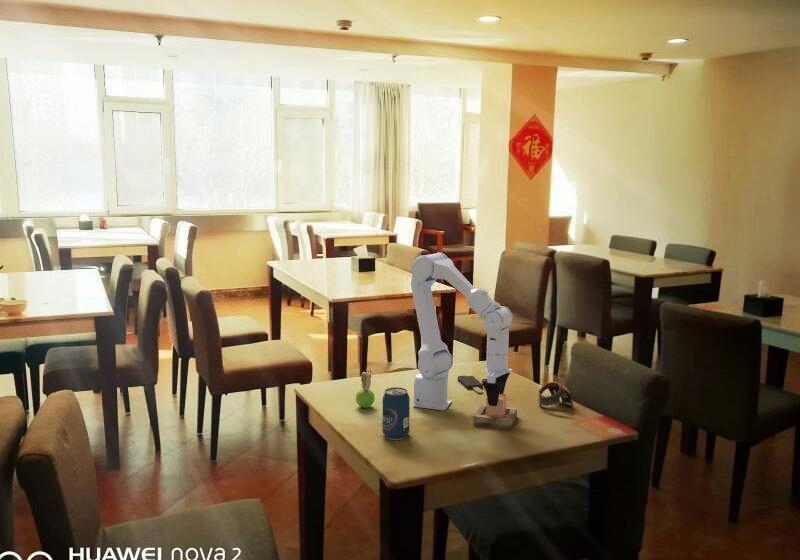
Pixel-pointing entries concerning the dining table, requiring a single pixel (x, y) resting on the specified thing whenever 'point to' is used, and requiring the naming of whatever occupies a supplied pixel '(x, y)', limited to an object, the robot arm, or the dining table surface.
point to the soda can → (396, 413)
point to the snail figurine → (365, 391)
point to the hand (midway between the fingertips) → (495, 400)
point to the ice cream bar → (470, 383)
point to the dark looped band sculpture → (555, 394)
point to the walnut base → (495, 418)
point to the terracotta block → (497, 407)
